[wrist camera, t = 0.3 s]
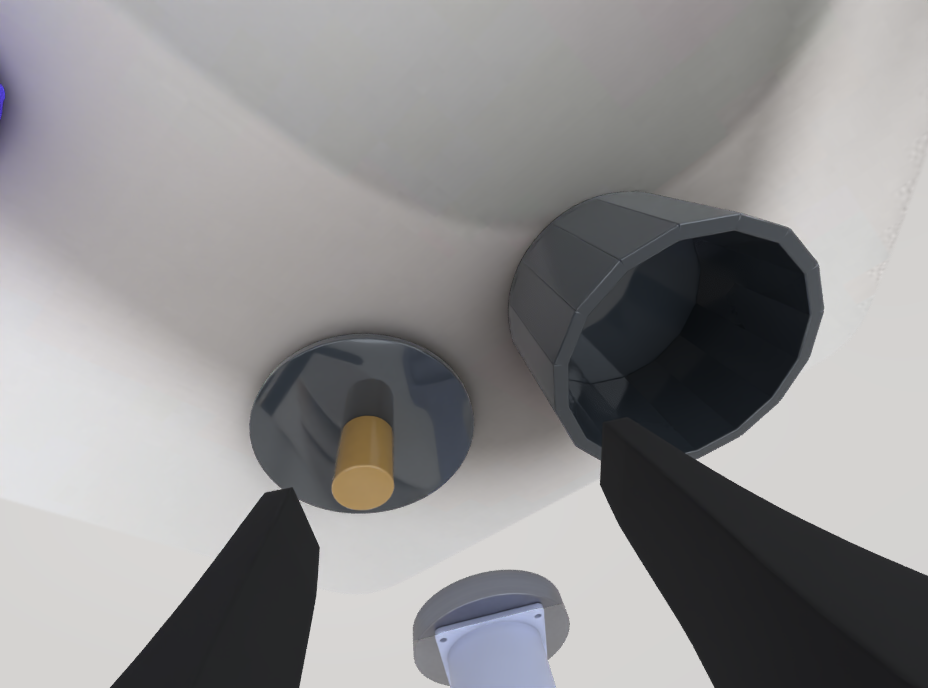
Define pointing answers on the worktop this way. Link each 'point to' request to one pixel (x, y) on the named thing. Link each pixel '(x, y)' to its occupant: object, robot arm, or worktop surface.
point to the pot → (664, 318)
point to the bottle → (1, 99)
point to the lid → (362, 423)
